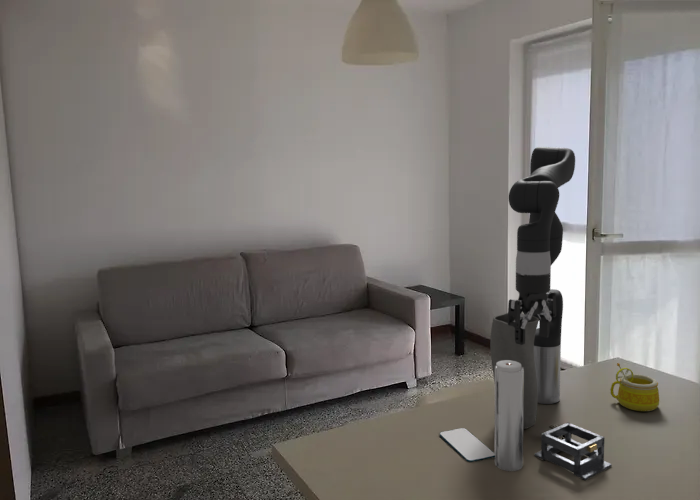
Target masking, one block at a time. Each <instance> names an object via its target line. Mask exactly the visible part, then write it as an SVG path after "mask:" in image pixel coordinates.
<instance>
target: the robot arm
mask: <svg viewBox="0 0 700 500" xmlns="http://www.w3.org/2000/svg"><path fill="white" fill-rule="evenodd" d="M529 164H530V165H529V167H530V168H529V172H530V173H529V176H527V177H524V178H520V179H518V180H516V181H515V182H514V184H513V185H512V186H511V187H510V190H509V192H508V204H509V206H510V208H511V209H512V210H513V211H514V212H516V213H519V214H529V219H528V221H529V222H528V223H524V224H521V225H519V226H518V228H517V230H516V231H517V232H516V255H515V256H516V258H515V290H516V291H517V293H518V294H519V295H518V298H517V299H512V298H511V299H509V300H508V306H507V307H508V308H507V313H508V325H509V326H513V327H514V328H515V342H516V343H517V344H520V345H523V344H525V329H524V328H525V326H526V323H527V321H529V320H530V319H531V317H532V316H534V317H537V318H538V319H539V322H538V325H539V327H538V328H537V329H536V333H535V338H534V360H535V368H536V376H537V391H538V401H537V404H544V405H546V404H547V405H551V404H556V403H558V402H560V400H561V399H560V398H561V397H560V396H561V361H562V359H561V358H562V357H561V355H562V354H561V352H562V351H561V350H562V348H561V347H562V325H563V324H562V323H563V313H564V311H563V310H564V298H563V295H562V292H561V291H560V290H559V289H557V288H556V289H553V288H552V289H551V282H552V281H551V280H552V279H551V277H552V276H551V269H552V267H551V266H552V265H553V264H554V263H555V261H557V259H558V257H559V256H560V254H561V252H562V249H563V240H564V239H563V238H564V235H563V234H564V227H563V224H562V222H561V220H560V218H559V216H558V214H557V212H556V209H557V207H558V204H559V200H560V189H559V188H560V187H562V186H564V185H566V184H567V183H568V182H570V181H571V180H572V177H573V176H574V174H575V169H576V156H575V152H574V151H573V150H572V149H571V148H567V147H560V146H559V147H557V146H555V147H553V146H536V147H535V148H534V149H533V150H532V152H531V157H530V163H529ZM513 316H514V317H515V320H514V321H513ZM521 319H523V320H522V322H521V323H520V320H521Z"/></svg>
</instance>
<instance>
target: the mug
mask: <svg viewBox="0 0 700 500" xmlns="http://www.w3.org/2000/svg"><path fill="white" fill-rule="evenodd" d="M616 366H618V368H619V370H618V371H616V374H615V381H614V382H612V383H611V386H610V389H609V390H610V395H611V397H612V398H614V399H616V400H617V401H618V403H619V405H621V406H623V408H626V409H629V410H631V411H637V412H651V411H654V410H656V409H658V407H659V405H660V392H659V387H658V386H659V382H658V381H657V380H656V379H655V378H653V377H651V376H648V375H644V374H639V373H636V374H635V373H634V372H633V370H632V369H630V368H628V367H622V366H621V364H620V362H618V363H616ZM621 367H622V368H621ZM624 370H626V371H625V373H624V372H623V371H624ZM629 371H630V374H628V373H629ZM620 373H621V374H622V376H621V375H620V376H619V374H620ZM615 385H618V389H617V390H618V391H617V394H614V388H615Z"/></svg>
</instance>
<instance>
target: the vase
mask: <svg viewBox="0 0 700 500" xmlns="http://www.w3.org/2000/svg"><path fill="white" fill-rule="evenodd" d="M514 320H515V317H514V316H513V321H514ZM522 320H523V319H521V320H520V323H521V322H522ZM538 325H539V319H538V318H537V317H534V316H532V317H531V319H530V320H529V321H527V323H526V326H525V328H524V329H525V344H523V345H520V344H517V343H516V342H515V328H514V327H513V326H509V325H508V312H506V313H503V314H498V315H495V316H494V317H493V318H492V323H491V328H490V329H491V330H490V346H489V347H490V348H489V349H490V359H491V366H492V367H491V368H492V373H493V381H494V384H495V366H496V363H497V362H499V361H502V360H511V361H516V362H519V363H520V364H521V367H523V368H524V401H523V430H525V429H529V428H531V427H533V426H534V425H535V424H536V421H537V416H538V415H537V414H538V403H537V401H538V391H537V376H536V368H535V360H534V338H535V333H536V329H538V328H537V327H538Z"/></svg>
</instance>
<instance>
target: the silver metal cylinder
mask: <svg viewBox="0 0 700 500" xmlns="http://www.w3.org/2000/svg"><path fill="white" fill-rule="evenodd" d="M523 401H524V368H523V367H521V364H520V363H519V362H516V361H511V360H502V361H499V362H497V363H496V366H495V383H494V453H495V457H494V465H495V467H496V468H497V469H499V470H502V471H505V472H517V471H519V470H522V469H523V466H524V429H523Z"/></svg>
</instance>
